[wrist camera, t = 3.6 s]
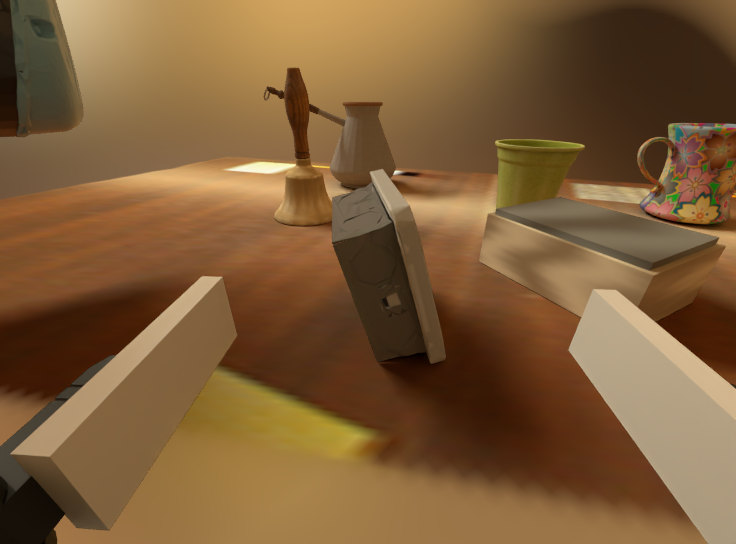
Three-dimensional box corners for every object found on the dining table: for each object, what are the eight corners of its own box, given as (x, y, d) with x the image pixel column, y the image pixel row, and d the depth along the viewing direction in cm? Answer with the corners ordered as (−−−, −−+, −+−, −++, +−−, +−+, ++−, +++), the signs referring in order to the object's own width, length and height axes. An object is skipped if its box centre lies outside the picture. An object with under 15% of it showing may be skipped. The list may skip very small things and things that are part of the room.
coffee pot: (393, 177, 61) (396, 88, 54) (397, 192, 51) (402, 84, 44) (284, 176, 61) (273, 87, 54) (266, 191, 51) (250, 84, 44)
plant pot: (491, 200, 47) (504, 137, 42) (564, 210, 42) (585, 141, 38) (474, 217, 40) (487, 144, 35) (558, 232, 35) (584, 150, 31)
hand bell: (345, 223, 38) (340, 65, 30) (274, 229, 36) (249, 62, 28) (334, 204, 45) (328, 72, 37) (274, 208, 43) (255, 70, 35)
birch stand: (479, 261, 29) (489, 207, 26) (544, 244, 32) (559, 195, 30) (621, 339, 19) (657, 267, 17) (692, 302, 23) (730, 238, 20)
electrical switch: (448, 370, 17) (454, 204, 13) (354, 383, 17) (327, 219, 12) (411, 283, 25) (407, 164, 21) (347, 292, 25) (329, 173, 21)
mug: (692, 208, 43) (736, 123, 38) (753, 232, 35) (818, 129, 30) (598, 204, 45) (627, 122, 40) (635, 226, 37) (678, 127, 32)
